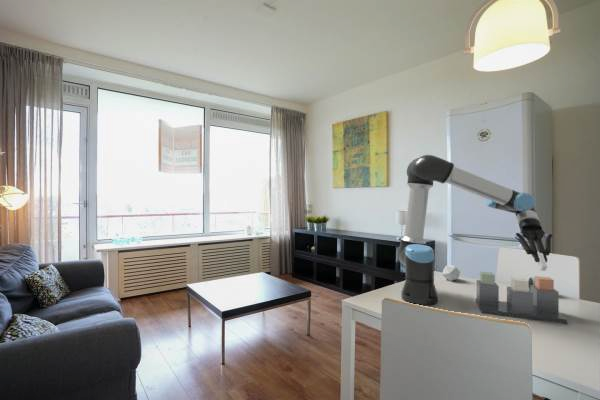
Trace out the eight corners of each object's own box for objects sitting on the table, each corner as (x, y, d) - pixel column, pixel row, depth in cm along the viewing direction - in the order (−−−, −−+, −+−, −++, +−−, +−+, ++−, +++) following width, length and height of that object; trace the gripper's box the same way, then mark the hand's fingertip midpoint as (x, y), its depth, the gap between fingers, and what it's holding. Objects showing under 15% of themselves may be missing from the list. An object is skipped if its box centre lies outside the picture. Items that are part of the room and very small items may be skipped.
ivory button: (514, 302, 111) (514, 280, 111) (510, 299, 115) (511, 277, 115) (528, 304, 109) (528, 281, 109) (524, 300, 113) (524, 278, 113)
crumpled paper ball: (462, 283, 155) (464, 267, 160) (450, 276, 153) (452, 260, 158) (450, 285, 162) (451, 269, 167) (438, 278, 160) (440, 262, 165)
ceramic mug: (554, 297, 132) (554, 280, 132) (533, 295, 135) (533, 279, 135) (544, 291, 141) (544, 275, 142) (524, 289, 144) (524, 274, 144)
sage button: (482, 294, 120) (482, 274, 120) (480, 291, 124) (480, 271, 124) (494, 296, 118) (494, 275, 118) (492, 292, 122) (492, 272, 122)
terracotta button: (539, 300, 113) (539, 278, 113) (535, 297, 117) (535, 276, 117) (553, 302, 111) (553, 280, 111) (548, 298, 115) (548, 277, 115)
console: (481, 312, 114) (481, 288, 114) (475, 301, 126) (475, 279, 126) (567, 323, 104) (567, 297, 104) (551, 310, 116) (551, 286, 116)
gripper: (544, 228, 130) (561, 275, 115) (509, 227, 135) (521, 272, 119) (549, 217, 125) (568, 264, 110) (513, 216, 130) (526, 261, 114)
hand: (543, 268), depth 115 cm, fingers closed
